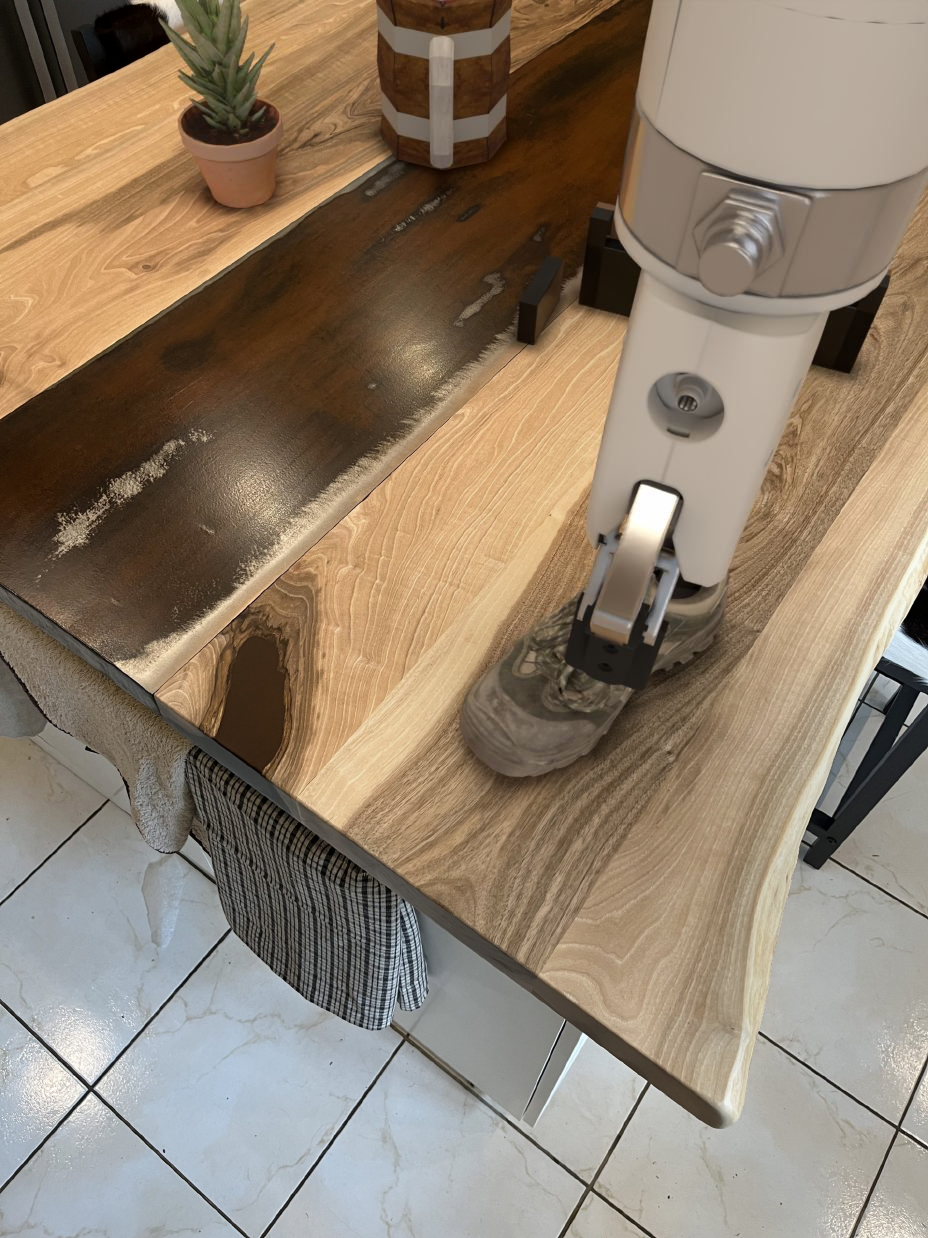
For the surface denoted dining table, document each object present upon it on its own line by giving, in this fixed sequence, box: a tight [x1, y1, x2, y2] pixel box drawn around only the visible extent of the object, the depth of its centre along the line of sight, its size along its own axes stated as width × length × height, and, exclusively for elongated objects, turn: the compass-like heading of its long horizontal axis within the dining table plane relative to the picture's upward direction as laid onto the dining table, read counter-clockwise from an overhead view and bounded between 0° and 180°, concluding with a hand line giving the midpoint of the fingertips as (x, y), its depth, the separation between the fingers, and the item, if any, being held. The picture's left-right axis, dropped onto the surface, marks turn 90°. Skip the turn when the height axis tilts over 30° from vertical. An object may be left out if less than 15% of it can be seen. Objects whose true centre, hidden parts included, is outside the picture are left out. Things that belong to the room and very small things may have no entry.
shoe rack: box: [516, 201, 893, 374], centre depth 77 cm, size 27×9×8 cm, turn 68°
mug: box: [375, 0, 513, 171], centre depth 92 cm, size 20×14×15 cm
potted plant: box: [158, 0, 285, 209], centre depth 83 cm, size 10×10×25 cm
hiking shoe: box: [458, 526, 731, 778], centre depth 58 cm, size 9×21×12 cm, turn 132°
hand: (640, 580), depth 39 cm, fingers open, 9 cm apart
